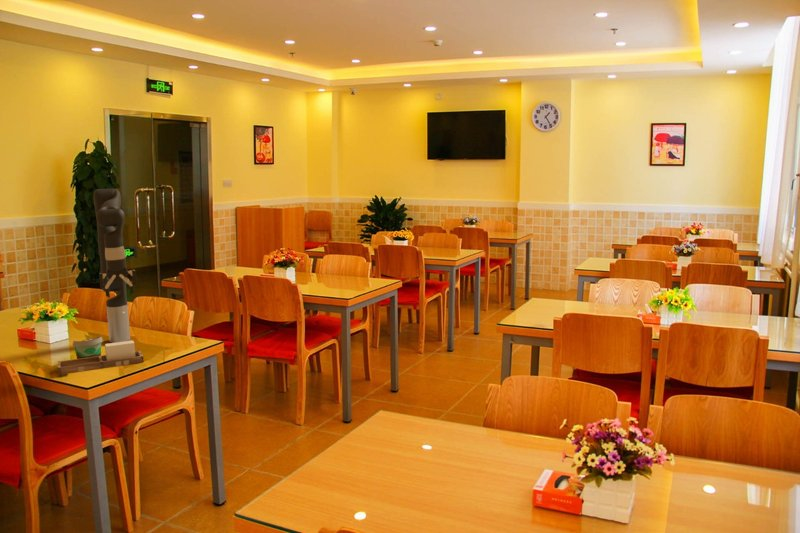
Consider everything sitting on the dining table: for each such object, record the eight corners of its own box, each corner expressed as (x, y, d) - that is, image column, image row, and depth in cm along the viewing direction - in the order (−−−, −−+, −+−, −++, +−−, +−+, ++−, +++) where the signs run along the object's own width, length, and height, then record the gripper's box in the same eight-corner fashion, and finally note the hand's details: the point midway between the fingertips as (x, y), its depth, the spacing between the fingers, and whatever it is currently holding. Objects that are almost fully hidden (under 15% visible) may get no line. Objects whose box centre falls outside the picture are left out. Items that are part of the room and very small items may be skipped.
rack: (58, 369, 282) (57, 361, 281) (140, 358, 296) (140, 350, 295) (58, 376, 272) (57, 368, 272) (143, 364, 286) (143, 356, 286)
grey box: (106, 362, 287) (105, 343, 286) (134, 358, 292) (133, 340, 291) (107, 365, 283) (105, 346, 282) (135, 361, 288) (134, 342, 286)
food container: (80, 366, 286) (78, 343, 284) (74, 363, 290) (72, 340, 289) (109, 359, 295) (107, 337, 293) (103, 357, 299) (101, 335, 298)
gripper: (134, 254, 286) (138, 292, 290) (97, 257, 282) (101, 296, 285) (134, 257, 280) (138, 296, 283) (96, 260, 275) (101, 300, 278)
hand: (120, 296), depth 284 cm, fingers open, 8 cm apart
